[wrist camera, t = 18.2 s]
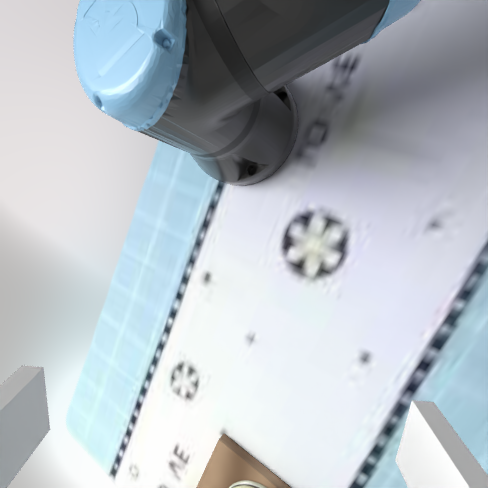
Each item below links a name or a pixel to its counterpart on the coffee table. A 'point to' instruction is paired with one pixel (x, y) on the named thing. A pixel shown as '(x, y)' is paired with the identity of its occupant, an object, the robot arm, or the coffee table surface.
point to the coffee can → (247, 484)
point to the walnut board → (235, 468)
